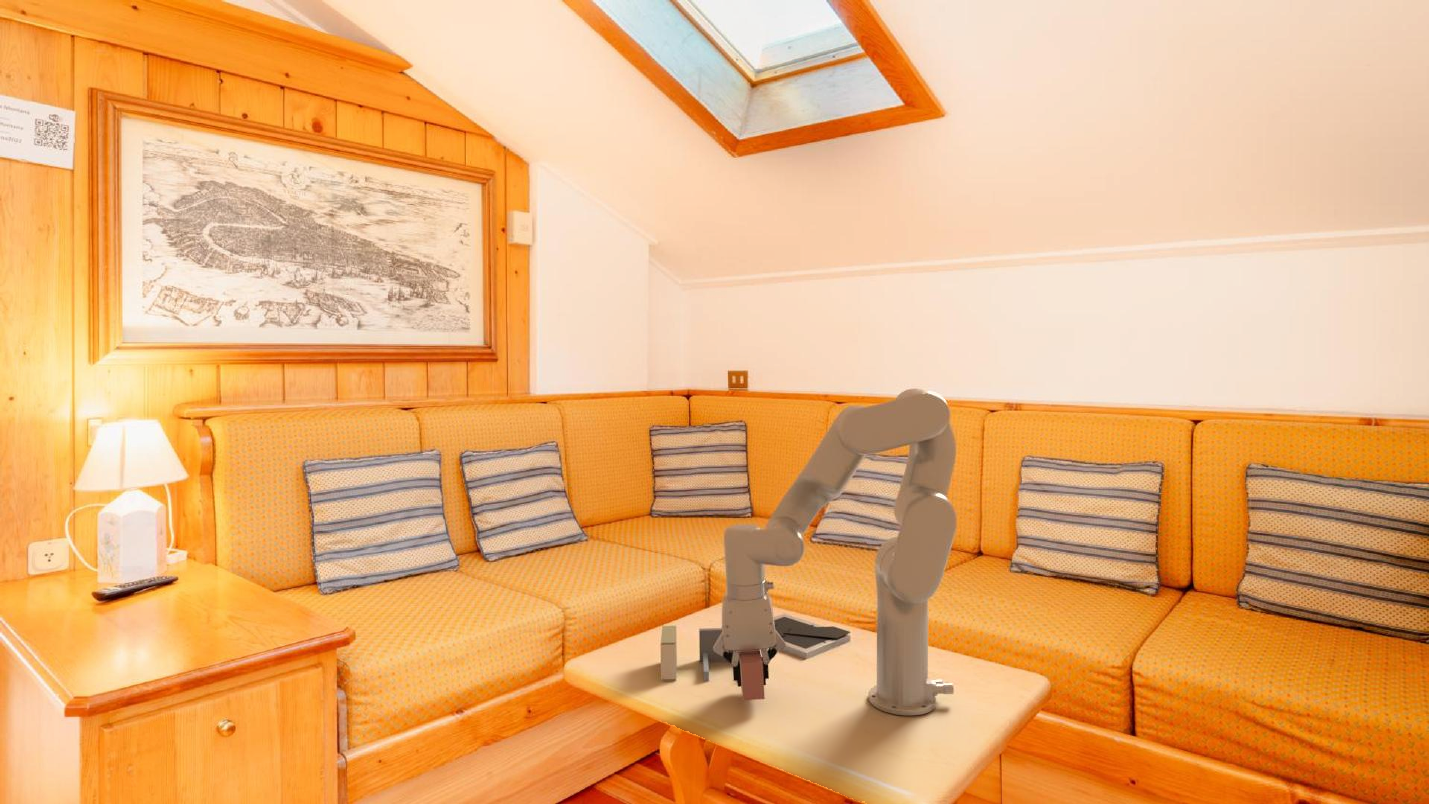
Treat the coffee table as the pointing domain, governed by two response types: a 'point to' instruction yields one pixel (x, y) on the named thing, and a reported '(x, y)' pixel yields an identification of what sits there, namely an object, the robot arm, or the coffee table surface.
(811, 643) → the picture frame
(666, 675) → the olive rectangular block
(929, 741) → the coffee table surface
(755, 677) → the reddish pink rectangular block
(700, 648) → the shelf slot
